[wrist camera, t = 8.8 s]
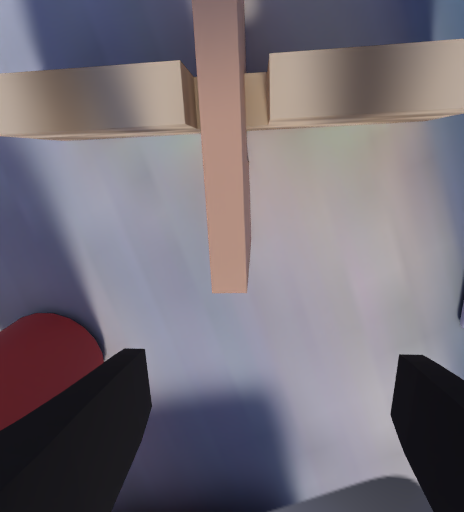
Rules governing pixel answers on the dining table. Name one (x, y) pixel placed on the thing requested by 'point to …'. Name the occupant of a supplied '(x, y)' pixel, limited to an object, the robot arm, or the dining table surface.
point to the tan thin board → (224, 139)
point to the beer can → (42, 362)
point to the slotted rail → (256, 93)
